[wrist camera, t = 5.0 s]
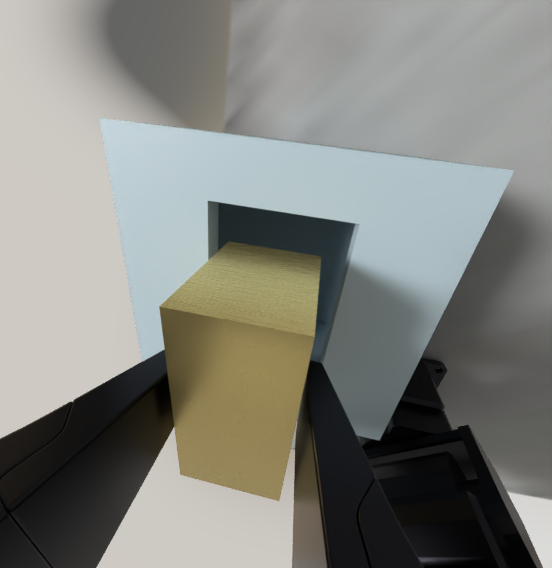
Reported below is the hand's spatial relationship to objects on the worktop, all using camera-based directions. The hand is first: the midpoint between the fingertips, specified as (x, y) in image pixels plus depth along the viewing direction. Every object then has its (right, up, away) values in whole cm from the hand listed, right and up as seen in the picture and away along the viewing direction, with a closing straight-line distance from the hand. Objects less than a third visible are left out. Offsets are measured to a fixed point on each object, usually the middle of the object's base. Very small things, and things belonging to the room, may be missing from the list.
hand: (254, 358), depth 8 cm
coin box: (+2, +5, +9) cm, 10 cm away
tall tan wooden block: (0, +1, +2) cm, 2 cm away
